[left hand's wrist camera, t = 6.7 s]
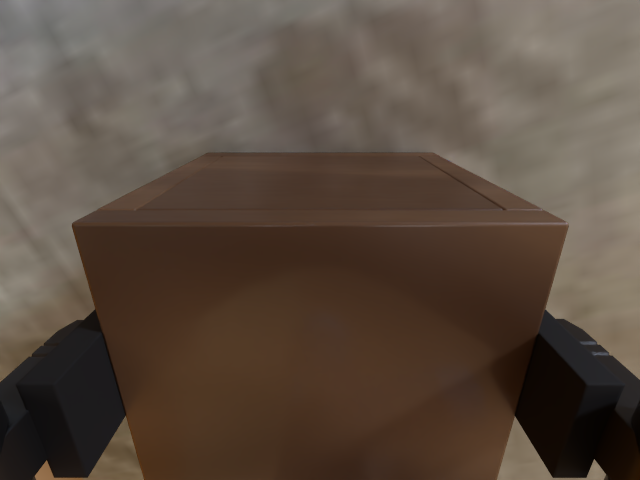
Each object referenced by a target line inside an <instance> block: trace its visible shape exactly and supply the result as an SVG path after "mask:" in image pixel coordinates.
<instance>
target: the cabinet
mask: <svg viewBox="0 0 640 480" xmlns="http://www.w3.org/2000/svg"><path fill="white" fill-rule="evenodd" d="M568 227H569V225H568V222H566V221H564V220H562V219H560V218H558V217H556V216H554V215H552V214H550V213H548V212H546V211H544V210H542V209H541V208H539V207H537V206H535V205H533V204H531V203H529V202H528V201H526V200H524V199H522V198H520V197H518V196H516V195H514V194H512V193H510V192H508V191H506V190H504V189H502V188H500V187H498V186H496V185H494V184H493V183H491V182H489V181H487V180H485V179H483V178H481V177H479V176H477V175H475V174H473V173H471V172H469V171H467V170H465V169H463V168H461V167H459V166H458V165H456V164H454V163H452V162H450V161H448V160H446V159H444V158H442V157H440V156H439V155H437V154H435V153H206V154H205V155H203V156H201V157H199V158H197V159H195V160H193V161H191V162H189V163H187V164H185V165H183V166H181V167H179V168H177V169H175V170H173V171H171V172H170V173H168V174H166V175H164V176H162V177H160V178H158V179H156V180H154V181H152V182H150V183H148V184H146V185H144V186H142V187H140V188H138V189H136V190H134V191H132V192H130V193H128V194H126V195H124V196H123V197H121V198H119V199H117V200H115V201H113V202H111V203H109V204H107V205H105V206H103V207H101V208H99V209H98V210H97V211H94V212H92V213H90V214H88V215H87V216H85V217H83V218H81V219H79V220H77V221H75V222H73V223H72V228H73V232H74V235H75V239H76V242H77V246H78V249H79V253H80V256H81V260H82V263H83V267H84V270H85V274H86V277H87V281H88V284H89V288H90V291H91V295H92V298H93V302H94V305H95V309H96V312H97V316H98V319H99V323H100V326H101V330H102V333H103V337H104V340H105V344H106V347H107V351H108V354H109V358H110V361H111V365H112V368H113V372H114V375H115V379H116V382H117V386H118V389H119V393H120V396H121V400H122V403H123V407H124V410H125V414H126V417H127V421H128V424H129V428H130V431H131V435H132V439H133V442H134V446H135V449H136V453H137V456H138V460H139V463H140V467H141V470H142V474H143V477H144V480H497V477H498V473H499V470H500V466H501V463H502V459H503V456H504V452H505V448H506V445H507V441H508V438H509V434H510V431H511V427H512V424H513V420H514V417H515V413H516V410H517V406H518V403H519V399H520V396H521V392H522V389H523V385H524V382H525V378H526V375H527V371H528V368H529V364H530V361H531V357H532V353H533V350H534V346H535V343H536V339H537V336H538V332H539V329H540V325H541V322H542V318H543V315H544V311H545V308H546V304H547V301H548V297H549V294H550V290H551V287H552V283H553V280H554V276H555V273H556V269H557V266H558V262H559V258H560V255H561V251H562V248H563V244H564V241H565V237H566V234H567V230H568Z"/></svg>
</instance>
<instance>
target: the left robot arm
mask: <svg viewBox="0 0 640 480" xmlns="http://www.w3.org/2000/svg"><path fill="white" fill-rule="evenodd" d="M125 416H126V414H125V410H124V407H123V403H122V400H121V396H120V393H119V389H118V386H117V382H116V379H115V375H114V372H113V368H112V365H111V361H110V358H109V354H108V351H107V347H106V344H105V340H104V337H103V333H102V330H101V326H100V323H99V319H98V316H97V312H96V309H95V310H94V311H93V312H92V313H91V314H90V315H89V316H88V317H87V318H86V319H85V320H77V321H75V322H73V323H71V324H69V325H68V326H66V327H64V328H62V329H61V330H59V331H57V332H56V333H55V334H54V335H53V336H52V337H51V338H50V339H48V340H47V341H46V342H45V343H44V346H41V347H39V348H38V349H37V350H36V351H35V352H34V353H33V354H32V357H28V358H27V359H26V360H25V361H24V362H23V363H21V364H20V365H19V366H18V367H17V368H16V369H15V370H14V371H12V372H11V373H10V374H9V375H8V376H7V377H6V378H5V379H3V380H2V381H1V382H0V480H36V479H35V475H36V473H37V472H38V471H39V469H40V468H41V467H42V465H43V464H44V463H45V461H46V460H47V461H48V464H49V466H50V468H51V471H52V473H53V476H54V477H55V478H63V477H64V478H88V476H89V474H90V473H91V471H92V470H93V468H94V466H95V465H96V463H97V461H98V460H99V458H100V456H101V455H102V453H103V452H104V450H105V448H106V447H107V445H108V443H109V442H110V440H111V438H112V437H113V435H114V434H115V432H116V430H117V429H118V427H119V425H120V424H121V422H122V421H123V419H124V417H125ZM515 417H516V418H517V420H518V422H519V423H520V425H521V426H522V428H523V430H524V431H525V433H526V435H527V436H528V438H529V439H530V441H531V443H532V444H533V446H534V448H535V449H536V451H537V453H538V454H539V456H540V457H541V459H542V461H543V462H544V464H545V466H546V467H547V469H548V471H549V472H550V474H551V475H552V477H553V478H586V477H587V475H588V472H589V470H590V467H591V465H592V463H593V460H594V459H595V460H596V462H597V463H598V464H599V465H600V467H601V468H602V469H603V471H604V472H605V473H606V476H605V479H604V480H640V380H639V379H638V378H637V377H636V376H635V375H633V374H632V373H631V372H630V371H629V370H628V369H627V368H626V367H624V366H623V365H622V364H621V363H620V362H619V361H618V360H617V359H615V358H614V357H613V356H610V355H609V352H607V351H606V350H605V349H604V348H603V347H602V346H601V345H597V342H596V341H595V340H594V339H593V338H592V337H590V336H589V335H588V334H587V333H586V332H585V331H584V330H582V329H581V328H579V327H577V326H575V325H573V324H572V323H570V322H568V321H566V320H565V319H555V318H554V317H553V316H552V315H551V314H550V313H548V312H547V311H546V310H545V311H544V315H543V318H542V322H541V325H540V329H539V332H538V336H537V339H536V343H535V346H534V350H533V353H532V357H531V361H530V364H529V368H528V371H527V375H526V378H525V382H524V385H523V389H522V392H521V396H520V399H519V403H518V406H517V410H516V413H515Z"/></svg>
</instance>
